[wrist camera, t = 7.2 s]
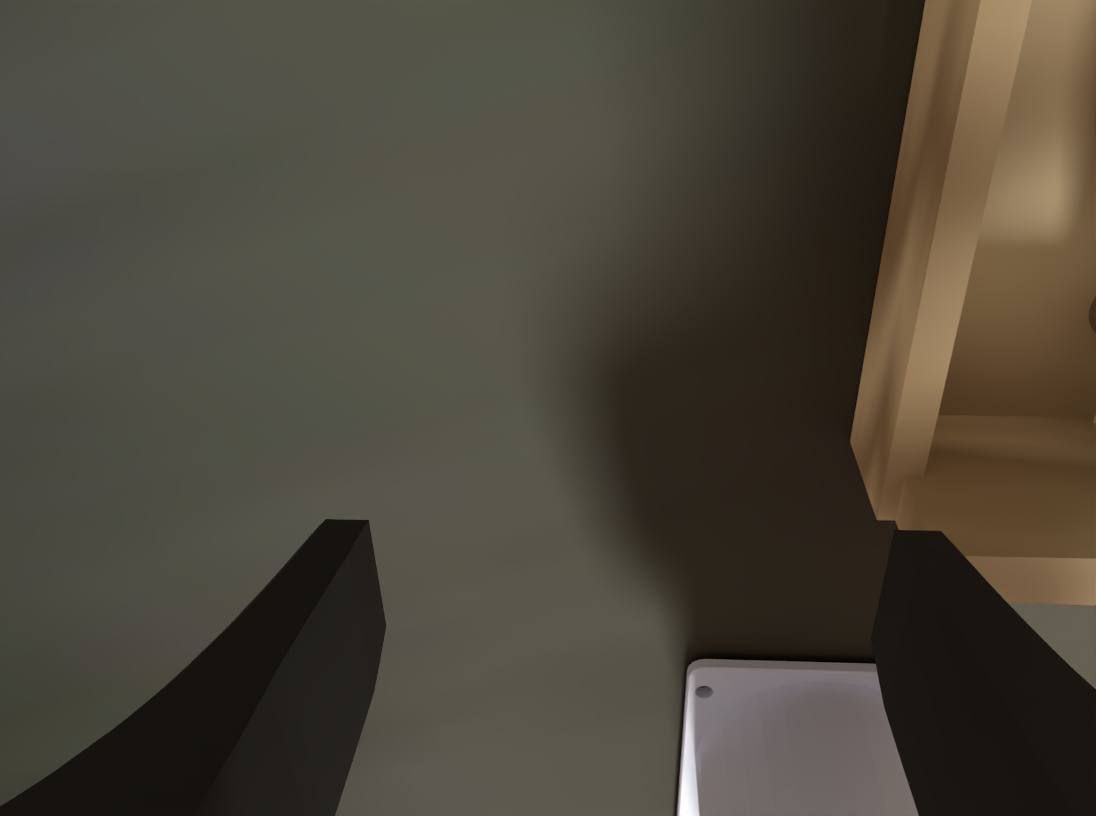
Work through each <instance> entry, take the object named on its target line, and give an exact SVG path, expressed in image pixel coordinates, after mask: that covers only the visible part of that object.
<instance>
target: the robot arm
mask: <svg viewBox="0 0 1096 816" xmlns="http://www.w3.org/2000/svg"><path fill="white" fill-rule="evenodd" d="M385 629H386V622H385V616H384V610H383V604H382V598H381V592H380V586H379V580H378V574H377V568H376V562H375V556H374V550H373V544H372V538H371V532H370V526H369V520H334V519H326V520H325V521H324V522H323V523H322V524H321V525H319V527H318V528H317V529H316V530H315V531H314V532H313V533H312V534H311V536H310V537H309V538H308V539H307V540H306V541H305V542H304V544H303V545H302V546H301V547H300V548H299V549H298V551H297V552H296V553H295V554H294V555H293V556H292V557H291V559H290V560H289V561H288V562H287V563H286V564H285V565H284V567H283V568H282V569H281V570H280V571H279V572H278V573H277V574H276V576H275V577H274V578H273V579H272V580H271V581H270V582H269V583H268V584H267V586H266V587H265V588H264V589H263V590H262V591H261V592H260V593H259V594H258V595H257V596H256V597H255V598H254V599H253V601H252V602H251V603H250V604H249V605H248V606H247V607H246V608H245V609H244V610H243V611H242V612H241V613H240V614H239V615H238V617H237V618H236V619H235V620H234V621H233V622H232V623H231V624H230V625H229V626H228V627H227V628H226V629H225V630H224V631H223V632H222V633H221V634H220V635H219V636H218V637H217V638H216V639H215V640H214V641H213V642H212V643H211V644H210V645H209V646H208V647H207V648H205V649H204V650H203V651H202V652H201V653H200V654H199V655H198V656H197V657H196V658H195V659H194V660H193V661H192V662H191V663H190V664H189V665H188V666H187V667H186V668H185V669H184V670H183V671H182V672H180V673H179V674H178V675H177V676H176V677H175V678H174V679H173V680H172V681H170V682H169V683H168V684H167V685H166V686H165V687H164V688H163V689H161V690H160V691H159V692H158V693H157V694H156V695H154V696H153V697H152V698H151V699H150V700H149V701H147V702H146V703H145V704H144V705H143V706H141V707H140V708H139V709H138V710H136V711H135V712H134V713H133V714H132V715H130V716H129V717H128V718H127V719H126V720H124V721H123V722H122V723H120V724H119V725H118V726H117V727H115V728H114V729H113V730H111V731H110V732H109V733H107V734H106V735H104V736H103V737H102V738H100V739H99V740H97V741H96V742H95V743H93V744H92V745H90V746H89V747H88V748H86V749H85V750H84V751H82V752H81V753H79V754H78V755H77V756H75V757H74V758H72V759H71V760H70V761H68V762H67V763H65V764H64V765H63V766H61V767H60V768H59V769H57V770H56V771H54V772H53V773H51V774H50V775H48V776H47V777H45V778H44V779H43V780H41V781H39V782H38V783H36V784H35V785H33V786H32V787H30V788H29V789H27V790H25V791H24V792H22V793H21V794H19V795H18V796H16V797H15V798H13V799H12V800H10V801H8V802H7V803H5V804H3V805H2V806H0V816H335V814H336V811H337V808H338V804H339V801H340V798H341V795H342V792H343V789H344V786H345V782H346V779H347V776H348V773H349V770H350V767H351V764H352V761H353V757H354V754H355V751H356V748H357V745H358V742H359V739H360V735H361V732H362V729H363V726H364V723H365V719H366V716H367V713H368V710H369V706H370V703H371V700H372V697H373V693H374V689H375V684H376V679H377V674H378V668H379V663H380V658H381V652H382V646H383V641H384V635H385ZM871 639H872V645H873V651H874V657H875V662H876V664H869V663H833V662H797V661H762V660H726V659H700V660H697V661H694V662H692V663H691V664H690V665H689V666H688V669H687V678H686V692H685V706H684V720H683V734H682V748H681V762H680V777H679V791H678V805H677V816H1096V689H1095V688H1093V687H1092V686H1091V685H1090V684H1089V683H1088V682H1087V681H1086V680H1085V679H1084V678H1082V677H1081V676H1080V675H1079V674H1078V673H1077V672H1076V671H1075V670H1074V669H1073V668H1071V667H1070V666H1069V665H1068V664H1067V663H1066V662H1065V661H1064V660H1063V659H1062V658H1061V657H1060V656H1059V655H1058V654H1057V653H1056V652H1055V651H1054V650H1053V649H1052V648H1051V647H1050V646H1049V645H1048V644H1047V643H1046V642H1045V641H1044V640H1043V639H1042V638H1041V637H1040V636H1039V635H1038V634H1037V633H1036V632H1035V631H1034V630H1033V629H1032V628H1031V627H1030V626H1029V625H1028V624H1027V623H1026V622H1025V621H1024V620H1023V619H1022V618H1021V617H1020V616H1019V614H1018V613H1017V612H1016V611H1015V610H1014V609H1013V608H1012V607H1011V606H1010V605H1009V604H1008V603H1007V602H1006V601H1005V600H1004V599H1003V598H1002V596H1001V595H1000V594H999V593H998V592H997V591H996V590H995V589H994V588H993V587H992V586H991V585H990V584H989V582H988V581H987V580H986V579H985V578H984V577H983V576H982V575H981V574H980V573H979V571H978V570H977V569H976V568H975V567H974V566H973V565H972V564H971V563H970V562H969V561H968V559H967V558H966V557H965V556H964V555H963V554H962V553H961V552H960V551H959V550H958V549H957V547H956V546H955V545H954V544H953V543H952V542H951V541H950V540H949V539H948V538H947V537H946V536H945V535H944V533H943V532H942V531H927V530H894V534H893V539H892V544H891V548H890V553H889V558H888V562H887V567H886V572H885V576H884V581H883V586H882V590H881V595H880V600H879V604H878V609H877V614H876V618H875V623H874V628H873V632H872V637H871ZM701 686H708V687H705V688H701Z"/></svg>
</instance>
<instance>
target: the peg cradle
mask: <svg viewBox="0 0 1096 816" xmlns="http://www.w3.org/2000/svg"><path fill="white" fill-rule="evenodd" d="M1095 415H1096V0H925V6H924V12H923V18H922V23H921V29H920V35H919V41H918V47H917V53H916V59H915V64H914V70H913V76H912V82H911V88H910V94H909V99H908V105H907V111H906V117H905V123H904V129H903V135H902V140H901V146H900V152H899V158H898V164H897V170H896V176H895V181H894V187H893V193H892V199H891V205H890V211H889V216H888V222H887V228H886V234H885V240H884V246H883V252H882V257H881V263H880V269H879V275H878V281H877V287H876V293H875V298H874V304H873V310H872V316H871V322H870V328H869V333H868V339H867V345H866V351H865V357H864V363H863V369H862V374H861V380H860V386H859V392H858V398H857V404H856V410H855V415H854V421H853V427H852V433H851V439H850V443H851V446H852V449H853V452H854V455H855V458H856V461H857V464H858V467H859V470H860V472H861V475H862V478H863V481H864V484H865V487H866V490H867V493H868V496H869V499H870V502H871V505H872V508H873V510H874V513H875V516H876V519H877V520H895V521H896V523H897V526H898V529H899V530H927V531H942V532H943V533H944V535H945V536H946V537H947V538H948V539H949V540H950V541H951V542H952V543H953V544H954V545H955V546H956V547H957V549H958V550H959V551H960V552H961V553H962V554H963V555H964V556H965V557H966V558H967V559H968V561H969V562H970V563H971V564H972V565H973V566H974V567H975V568H976V569H977V570H978V571H979V573H980V574H981V575H982V576H983V577H984V578H985V579H986V580H987V581H988V582H989V584H990V585H991V586H992V587H993V588H994V589H995V590H996V591H997V592H998V593H999V594H1000V595H1001V596H1002V598H1003V599H1004V600H1005V601H1006V602H1007V603H1019V604H1061V605H1096V425H1095V423H1094V422H1093V421H1094V418H1095Z"/></svg>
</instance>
